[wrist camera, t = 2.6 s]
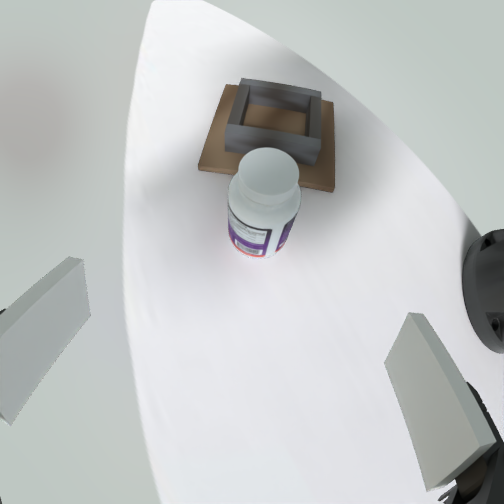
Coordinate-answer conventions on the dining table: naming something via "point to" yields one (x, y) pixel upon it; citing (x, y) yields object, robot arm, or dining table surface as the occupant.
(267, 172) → the pill bottle
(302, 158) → the square framed tray
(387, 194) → the dining table surface
